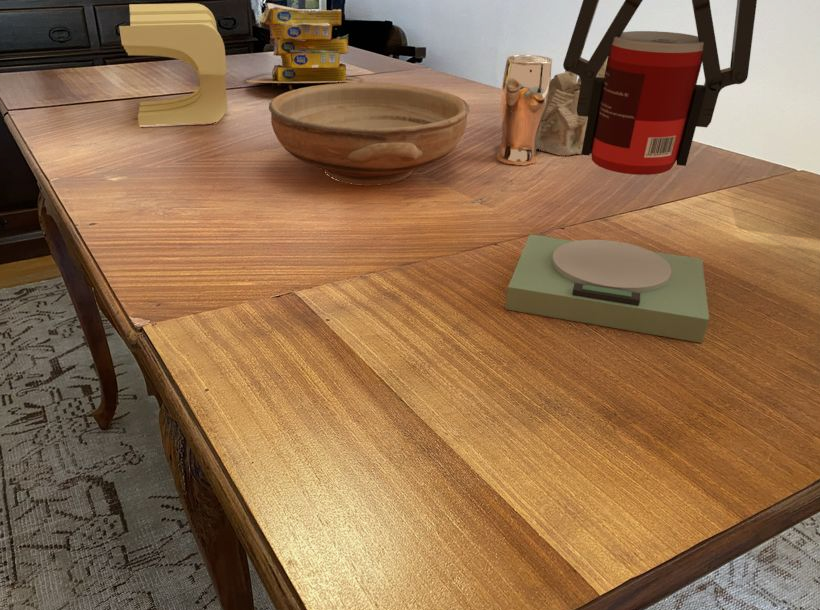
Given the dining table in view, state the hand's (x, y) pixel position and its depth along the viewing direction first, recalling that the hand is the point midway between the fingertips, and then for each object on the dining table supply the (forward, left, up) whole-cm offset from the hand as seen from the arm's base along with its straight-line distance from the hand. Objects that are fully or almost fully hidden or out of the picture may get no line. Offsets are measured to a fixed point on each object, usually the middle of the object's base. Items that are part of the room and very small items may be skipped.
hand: (632, 155), depth 66 cm
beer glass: (+16, -42, -14) cm, 47 cm away
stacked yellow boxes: (+68, -77, -14) cm, 103 cm away
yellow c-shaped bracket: (+79, -46, -14) cm, 92 cm away
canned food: (0, 0, -1) cm, 1 cm away
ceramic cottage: (+11, -56, -14) cm, 58 cm away
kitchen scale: (0, +1, -14) cm, 14 cm away
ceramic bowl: (+36, -28, -14) cm, 47 cm away
